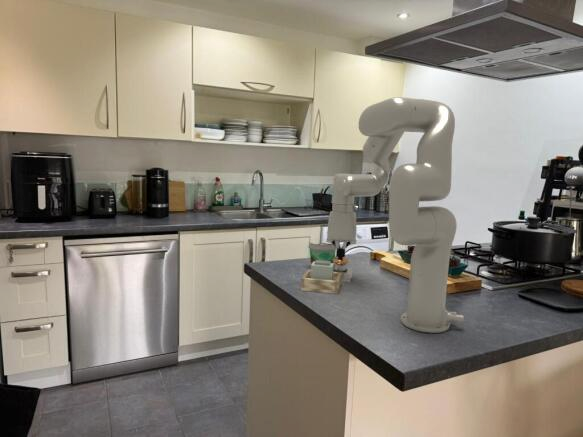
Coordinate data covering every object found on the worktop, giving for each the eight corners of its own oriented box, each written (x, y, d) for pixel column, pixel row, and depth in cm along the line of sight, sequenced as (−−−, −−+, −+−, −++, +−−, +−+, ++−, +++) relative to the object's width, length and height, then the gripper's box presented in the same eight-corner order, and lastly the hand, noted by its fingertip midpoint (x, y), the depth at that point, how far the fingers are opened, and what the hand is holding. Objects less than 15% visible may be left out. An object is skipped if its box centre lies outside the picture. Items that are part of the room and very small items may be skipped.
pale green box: (312, 281, 142) (313, 259, 141) (333, 283, 141) (334, 260, 140) (310, 285, 138) (311, 262, 136) (331, 287, 136) (332, 264, 135)
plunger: (348, 275, 152) (349, 257, 151) (347, 279, 147) (347, 261, 146) (332, 273, 154) (333, 256, 153) (331, 278, 148) (332, 260, 147)
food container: (313, 271, 158) (314, 245, 157) (307, 267, 164) (308, 242, 162) (342, 269, 163) (343, 244, 161) (335, 265, 168) (336, 241, 167)
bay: (340, 283, 144) (341, 272, 143) (337, 293, 133) (338, 281, 133) (306, 280, 146) (307, 269, 146) (301, 290, 136) (301, 278, 135)
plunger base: (351, 276, 153) (352, 268, 153) (350, 282, 146) (350, 274, 145) (330, 274, 155) (330, 266, 155) (327, 280, 147) (327, 272, 147)
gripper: (364, 208, 149) (361, 258, 152) (323, 206, 152) (321, 254, 155) (363, 211, 141) (360, 263, 144) (320, 208, 144) (318, 259, 147)
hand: (340, 258), depth 149 cm, fingers closed
